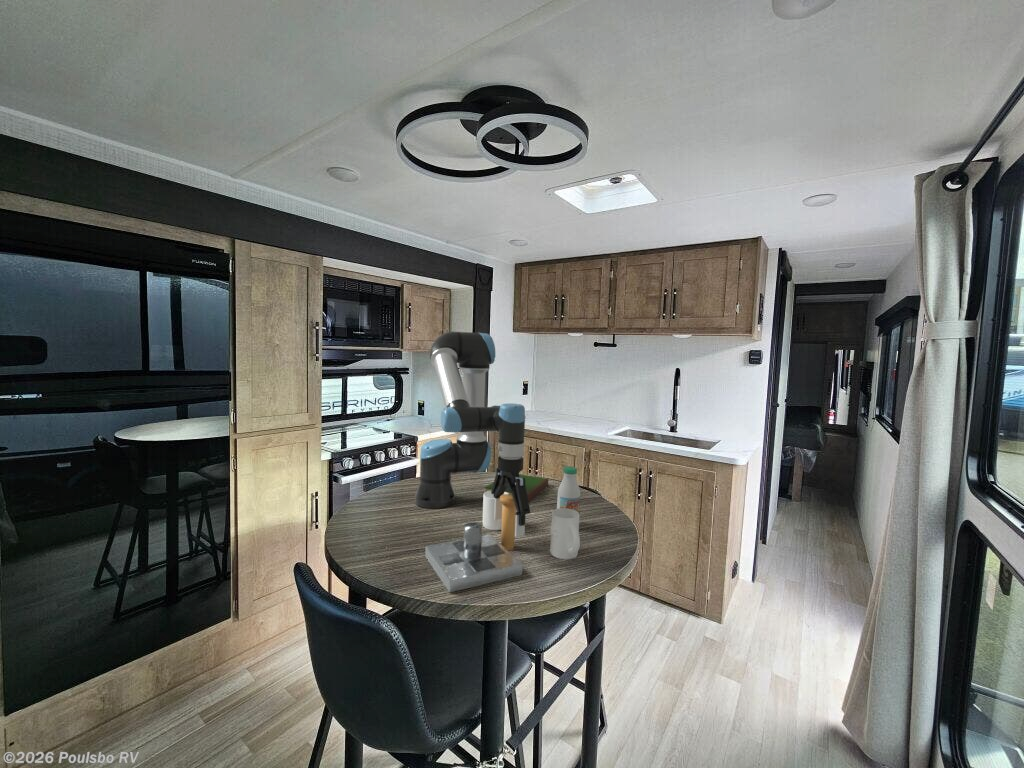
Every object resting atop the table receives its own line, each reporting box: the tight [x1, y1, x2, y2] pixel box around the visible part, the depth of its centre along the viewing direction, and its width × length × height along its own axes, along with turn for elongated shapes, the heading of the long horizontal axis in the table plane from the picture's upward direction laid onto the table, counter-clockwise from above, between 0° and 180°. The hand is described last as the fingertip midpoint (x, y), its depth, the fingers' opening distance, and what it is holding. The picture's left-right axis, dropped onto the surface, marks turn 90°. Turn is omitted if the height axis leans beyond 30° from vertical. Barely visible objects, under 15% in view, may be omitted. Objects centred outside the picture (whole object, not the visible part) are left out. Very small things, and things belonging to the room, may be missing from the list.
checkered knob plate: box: [424, 522, 523, 593], centre depth 118 cm, size 20×20×11 cm
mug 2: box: [549, 508, 581, 560], centre depth 125 cm, size 8×12×12 cm
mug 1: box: [482, 491, 516, 531], centre depth 145 cm, size 9×12×11 cm
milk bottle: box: [556, 465, 581, 519], centre depth 147 cm, size 8×8×20 cm
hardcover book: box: [484, 473, 549, 503], centre depth 183 cm, size 25×19×4 cm
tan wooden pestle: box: [500, 494, 517, 551], centre depth 129 cm, size 6×6×15 cm
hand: (508, 527), depth 129 cm, fingers open, 13 cm apart
